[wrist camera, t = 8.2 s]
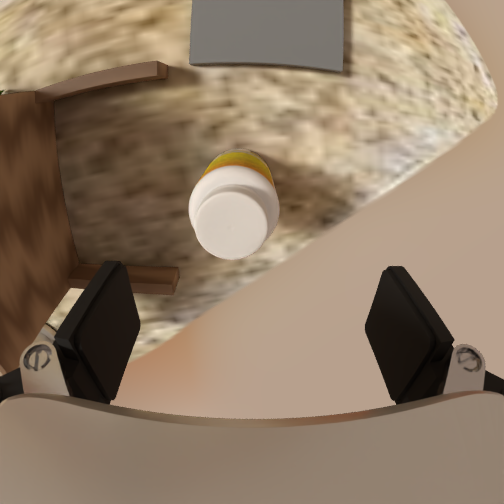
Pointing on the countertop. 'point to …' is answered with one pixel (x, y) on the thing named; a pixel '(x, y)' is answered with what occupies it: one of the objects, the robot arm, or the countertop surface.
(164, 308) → the countertop surface
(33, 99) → the walnut rack
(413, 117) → the countertop surface
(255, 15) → the slate mat
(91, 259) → the countertop surface
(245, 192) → the supplement bottle
